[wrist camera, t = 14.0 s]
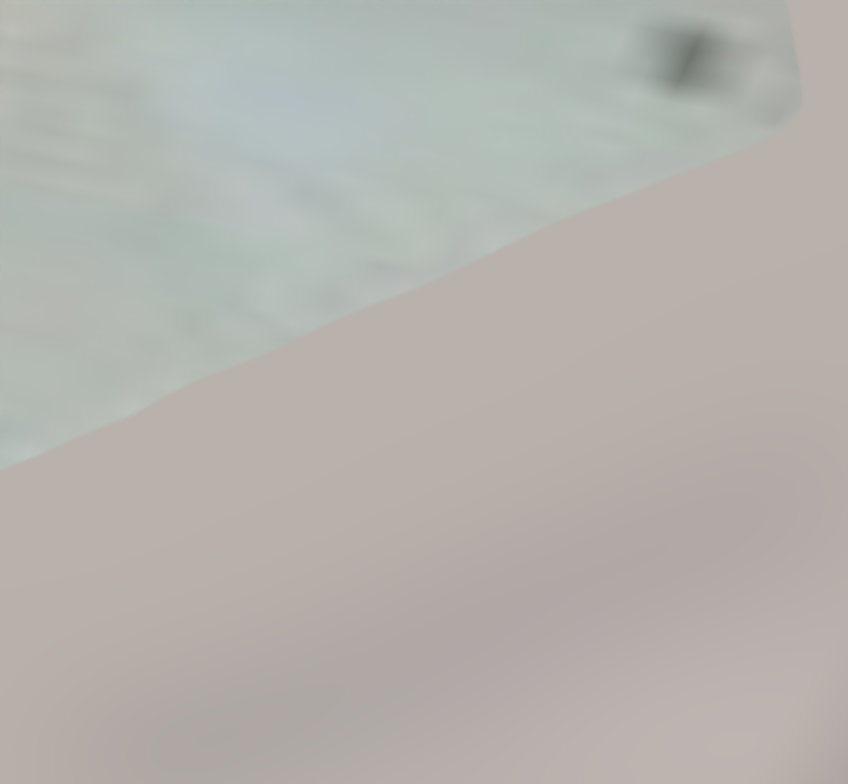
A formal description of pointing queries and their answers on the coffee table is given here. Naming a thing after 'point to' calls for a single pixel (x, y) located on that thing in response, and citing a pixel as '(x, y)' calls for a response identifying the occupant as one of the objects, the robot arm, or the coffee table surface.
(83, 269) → the coffee table surface
